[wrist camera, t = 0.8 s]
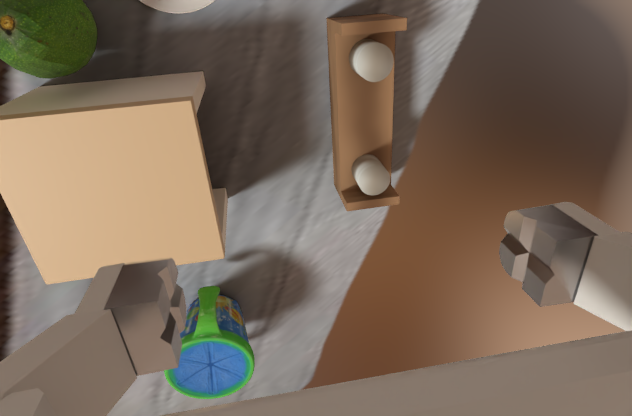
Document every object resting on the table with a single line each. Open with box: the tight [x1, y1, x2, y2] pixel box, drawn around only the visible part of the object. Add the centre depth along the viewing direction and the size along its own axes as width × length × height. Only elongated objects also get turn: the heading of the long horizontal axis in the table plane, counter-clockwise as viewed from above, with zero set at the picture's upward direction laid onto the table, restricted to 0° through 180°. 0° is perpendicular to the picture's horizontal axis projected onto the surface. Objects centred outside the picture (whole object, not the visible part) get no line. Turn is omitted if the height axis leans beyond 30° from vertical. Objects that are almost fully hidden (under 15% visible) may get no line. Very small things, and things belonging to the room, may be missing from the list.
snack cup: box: [164, 286, 254, 399], centre depth 53 cm, size 16×10×10 cm
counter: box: [0, 71, 228, 284], centre depth 39 cm, size 15×16×12 cm
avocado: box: [0, 0, 97, 78], centre depth 33 cm, size 8×8×12 cm
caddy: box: [327, 14, 407, 211], centre depth 43 cm, size 6×19×8 cm, turn 3°
